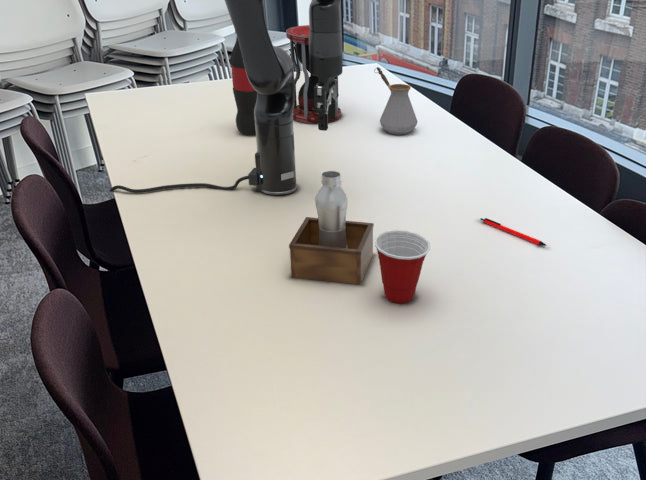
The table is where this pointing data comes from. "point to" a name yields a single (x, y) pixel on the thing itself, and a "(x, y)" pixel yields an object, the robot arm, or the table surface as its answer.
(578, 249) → the table surface
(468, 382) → the table surface
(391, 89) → the coffee pot
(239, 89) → the cola bottle
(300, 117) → the hourglass
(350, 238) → the wooden box
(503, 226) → the pen
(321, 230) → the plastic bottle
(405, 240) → the plastic cup
